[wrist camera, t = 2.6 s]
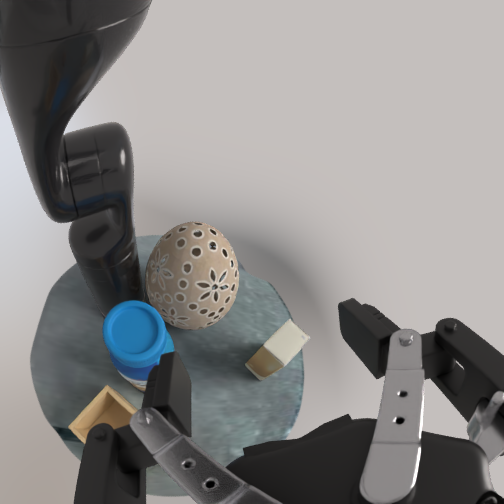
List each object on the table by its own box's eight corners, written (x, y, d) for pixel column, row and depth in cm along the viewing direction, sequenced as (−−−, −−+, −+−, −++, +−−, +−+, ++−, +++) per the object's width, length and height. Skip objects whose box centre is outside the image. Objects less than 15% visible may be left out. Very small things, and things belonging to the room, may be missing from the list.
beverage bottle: (186, 373, 41) (192, 334, 26) (150, 405, 36) (128, 387, 21) (152, 337, 43) (140, 277, 28) (116, 366, 38) (78, 321, 23)
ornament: (137, 287, 48) (124, 211, 33) (203, 261, 55) (219, 184, 40) (172, 356, 42) (169, 306, 27) (243, 320, 49) (278, 257, 34)
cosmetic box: (266, 343, 48) (291, 316, 38) (283, 359, 47) (312, 336, 37) (242, 365, 44) (262, 344, 35) (260, 383, 43) (285, 366, 34)
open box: (84, 428, 30) (67, 426, 24) (117, 392, 35) (106, 384, 30) (129, 468, 28) (119, 475, 22) (162, 430, 34) (159, 430, 28)
